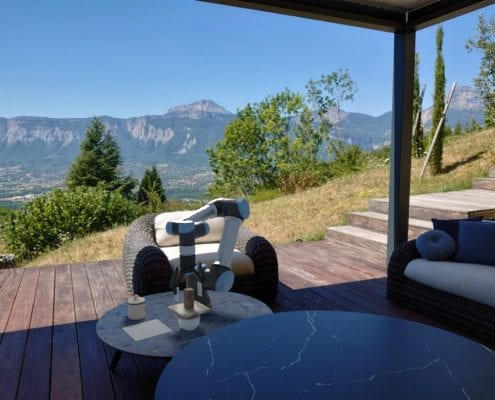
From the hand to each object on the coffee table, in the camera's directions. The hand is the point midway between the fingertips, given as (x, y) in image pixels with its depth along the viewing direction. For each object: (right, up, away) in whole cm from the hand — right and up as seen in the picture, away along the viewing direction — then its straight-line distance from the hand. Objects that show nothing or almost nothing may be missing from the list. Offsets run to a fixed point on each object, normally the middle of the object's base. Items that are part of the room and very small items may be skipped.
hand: (188, 298), depth 195 cm
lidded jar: (0, -15, +2) cm, 15 cm away
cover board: (0, -6, +1) cm, 6 cm away
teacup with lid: (-30, -14, +18) cm, 38 cm away
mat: (-20, -16, 0) cm, 25 cm away
